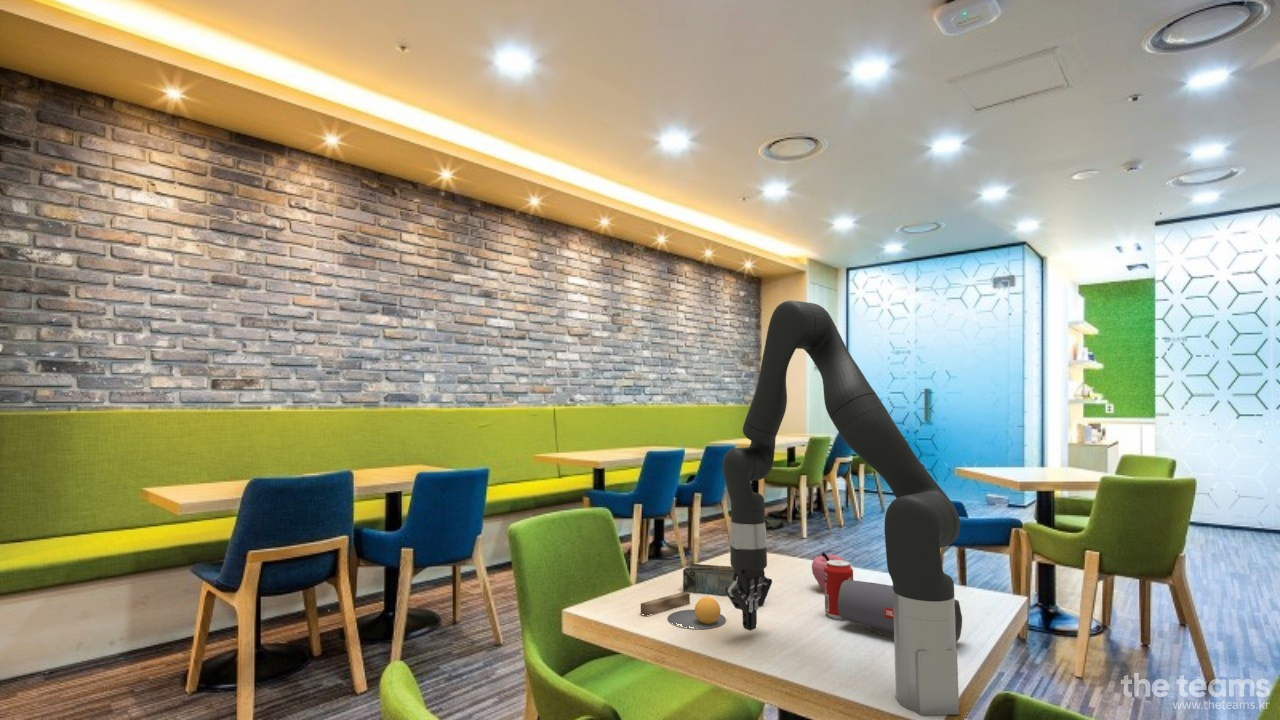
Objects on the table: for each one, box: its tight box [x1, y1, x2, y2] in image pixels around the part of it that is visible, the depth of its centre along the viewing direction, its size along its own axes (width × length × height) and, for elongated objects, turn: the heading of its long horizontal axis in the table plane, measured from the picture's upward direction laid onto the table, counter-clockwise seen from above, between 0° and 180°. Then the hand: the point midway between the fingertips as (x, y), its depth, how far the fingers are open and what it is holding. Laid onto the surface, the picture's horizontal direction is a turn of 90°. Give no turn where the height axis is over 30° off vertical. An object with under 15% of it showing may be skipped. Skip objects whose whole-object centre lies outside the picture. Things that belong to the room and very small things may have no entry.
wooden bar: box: [640, 591, 691, 617], centre depth 155 cm, size 14×2×2 cm, turn 131°
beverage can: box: [824, 560, 854, 621], centre depth 149 cm, size 6×6×12 cm
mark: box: [667, 609, 727, 630], centre depth 147 cm, size 13×13×1 cm
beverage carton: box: [682, 563, 734, 597], centre depth 169 cm, size 8×19×7 cm, turn 71°
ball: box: [694, 596, 721, 624], centre depth 145 cm, size 6×6×6 cm
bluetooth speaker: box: [837, 579, 963, 643], centre depth 137 cm, size 23×9×10 cm, turn 49°
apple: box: [811, 551, 845, 592], centre depth 169 cm, size 10×9×10 cm
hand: (749, 628), depth 136 cm, fingers closed
